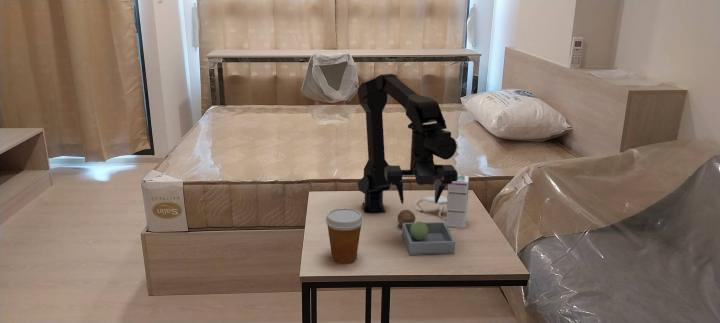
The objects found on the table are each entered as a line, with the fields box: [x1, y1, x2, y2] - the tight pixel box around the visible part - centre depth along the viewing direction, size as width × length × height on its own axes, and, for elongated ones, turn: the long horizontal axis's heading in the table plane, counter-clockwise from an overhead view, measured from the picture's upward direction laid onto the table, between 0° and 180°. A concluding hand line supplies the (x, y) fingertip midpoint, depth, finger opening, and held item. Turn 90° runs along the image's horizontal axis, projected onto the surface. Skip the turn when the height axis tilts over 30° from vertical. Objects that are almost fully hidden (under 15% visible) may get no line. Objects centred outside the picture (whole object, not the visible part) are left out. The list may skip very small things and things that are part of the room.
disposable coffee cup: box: [325, 207, 364, 264], centre depth 135 cm, size 10×10×12 cm
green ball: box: [410, 221, 428, 240], centre depth 146 cm, size 5×5×5 cm
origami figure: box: [415, 194, 447, 218], centre depth 164 cm, size 12×8×5 cm
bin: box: [401, 221, 457, 256], centre depth 144 cm, size 12×12×4 cm
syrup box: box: [445, 173, 470, 229], centre depth 155 cm, size 6×6×14 cm
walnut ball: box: [397, 209, 416, 227], centre depth 154 cm, size 5×5×5 cm
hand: (418, 203), depth 144 cm, fingers open, 9 cm apart
